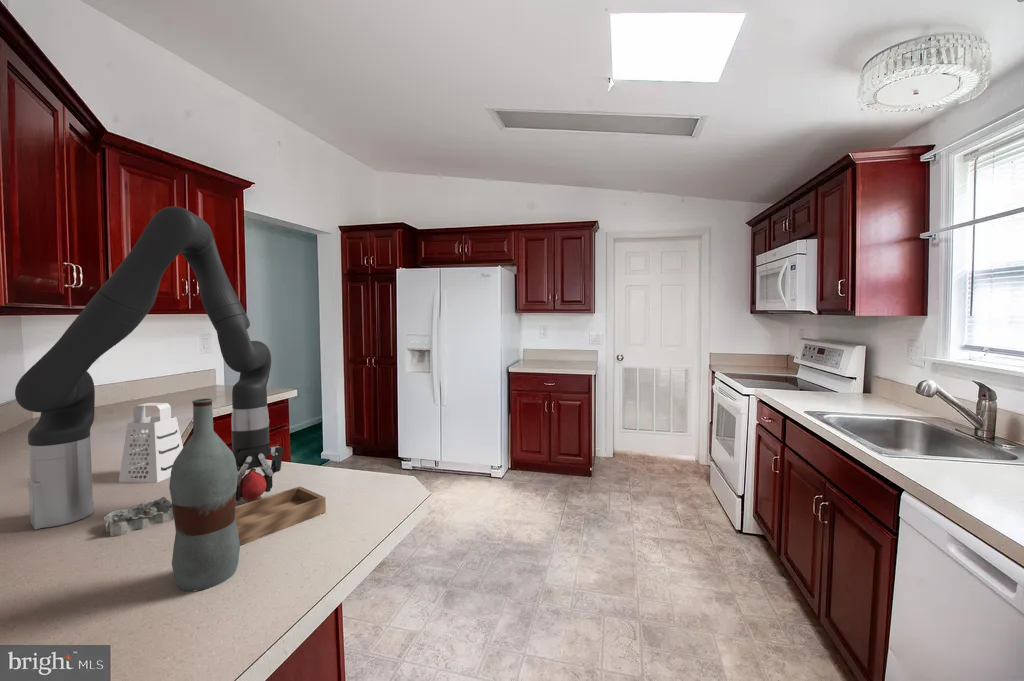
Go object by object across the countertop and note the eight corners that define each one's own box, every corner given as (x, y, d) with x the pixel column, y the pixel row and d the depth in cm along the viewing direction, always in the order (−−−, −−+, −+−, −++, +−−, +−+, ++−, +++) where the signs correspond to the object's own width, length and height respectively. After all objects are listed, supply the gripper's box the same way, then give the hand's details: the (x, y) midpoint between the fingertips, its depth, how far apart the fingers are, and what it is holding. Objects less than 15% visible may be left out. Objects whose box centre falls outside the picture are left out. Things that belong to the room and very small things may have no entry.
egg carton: (110, 540, 84) (108, 520, 84) (102, 529, 89) (101, 510, 89) (176, 520, 93) (175, 502, 92) (167, 511, 97) (166, 493, 97)
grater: (157, 482, 114) (154, 408, 113) (118, 482, 114) (115, 407, 113) (187, 469, 124) (185, 400, 123) (152, 468, 125) (150, 400, 124)
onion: (253, 508, 98) (252, 473, 98) (232, 505, 99) (231, 472, 99) (272, 497, 104) (271, 465, 104) (251, 496, 105) (251, 463, 105)
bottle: (163, 599, 66) (157, 406, 65) (182, 568, 74) (176, 397, 73) (235, 585, 70) (230, 402, 68) (245, 556, 78) (240, 393, 77)
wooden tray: (225, 551, 80) (224, 533, 80) (202, 534, 86) (201, 517, 86) (325, 512, 96) (325, 497, 96) (300, 500, 102) (299, 486, 102)
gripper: (274, 417, 109) (275, 482, 110) (209, 429, 97) (211, 502, 98) (289, 422, 105) (290, 489, 105) (222, 434, 93) (224, 510, 94)
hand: (252, 495), depth 102 cm, fingers closed on onion, 6 cm apart
